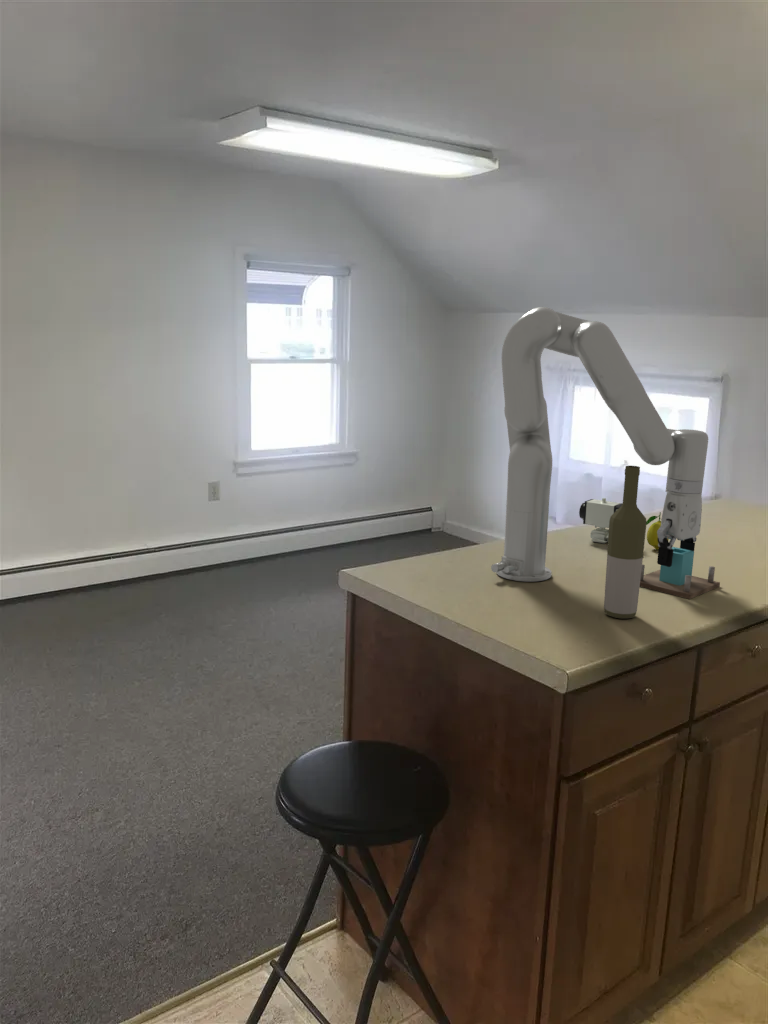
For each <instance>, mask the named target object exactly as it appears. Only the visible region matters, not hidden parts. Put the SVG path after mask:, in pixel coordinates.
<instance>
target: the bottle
mask: <svg viewBox="0 0 768 1024" xmlns="http://www.w3.org/2000/svg"><path fill="white" fill-rule="evenodd" d="M640 468H641V466H637V465H625V469H624V483H623V495H622V496H623V497H622V506H621V507H620V508H619V509H618V510H617V511H616V512H615V513H614V514H612V516H611V517H610V520H609V528H608V530H609V536H608V542H607V554H606V568H605V571H606V572H605V583H604V585H605V586H604V600H603V611H604V613H605V614H606V615H607V616H609V617H612V618H615V619H621V620H623V619H626V620H627V619H631V618H635V617H636V614H637V611H638V606H639V605H638V603H639V594H640V587H641V586H640V578H641V569H642V564H643V560H644V549H645V541H646V534H647V533H646V531H647V525H648V524H647V517H646V516H645V515H644V514H643V512H642V511H641V510H640V509H639V507H638V504H637V502H638V501H637V500H638V490H639V478H640V474H641V469H640ZM646 524H647V525H646Z"/></svg>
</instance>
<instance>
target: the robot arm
mask: <svg viewBox="0 0 768 1024" xmlns="http://www.w3.org/2000/svg"><path fill="white" fill-rule="evenodd" d="M504 338H505V339H504V340H503V344H502V349H501V373H502V387H503V395H504V410H503V411H504V417H505V419H506V426H507V427H506V429H507V435H508V445H509V455H508V462H507V487H506V488H507V489H506V490H507V492H506V504H505V505H506V506H505V507H506V509H505V511H506V512H505V525H504V527H505V528H504V543H503V544H504V546H503V548H504V549H503V556H501V560H500V561H499V562H496V563H493V564H492V565H491V566H490V567H491V568H490V569H491V571H492V572H493V573H496V574H497V575H498V576H499V577H501V578H503V579H507V580H511V581H515V582H528V583H530V582H531V583H532V582H543V581H546V580H548V579H550V578H551V577H552V573H553V571H552V570H551V569H550V568H549V567H547V566H546V560H547V559H546V557H547V542H548V540H547V539H548V528H549V527H548V526H549V515H550V514H549V512H550V493H551V482H552V481H551V480H552V473H553V452H552V446H551V436H550V427H549V426H550V425H549V417H548V405H547V401H546V399H545V396H544V394H545V393H544V388H543V381H542V377H543V376H542V374H543V373H542V363H541V362H542V361H541V358H542V354H543V351H544V349H546V350H550V351H553V352H557V353H560V354H564V355H568V356H571V357H575V358H579V360H580V362H581V363H582V366H583V367H584V369H585V370H586V371H587V373H588V375H589V377H590V379H591V381H592V383H593V384H594V385H595V387H596V389H597V391H598V393H599V395H600V396H601V398H602V400H603V401H604V403H605V404H606V406H607V408H609V409H610V411H611V412H612V413H613V414H614V415H615V417H616V419H617V420H618V421H619V423H620V424H621V426H622V428H623V429H624V431H625V432H626V434H627V436H628V437H629V440H630V441H631V443H632V445H633V450H634V452H635V453H636V454H637V455H638V456H639V458H640V459H641V460H642V461H643V462H644V463H646V464H648V465H651V466H661V465H663V464H666V463H667V462H668V465H667V466H668V467H667V475H666V477H667V478H666V485H665V492H666V494H665V500H664V504H663V507H662V508H663V509H662V513H661V514H662V515H661V519H662V520H661V519H660V521H661V527H660V528H659V529H658V530H657V535H658V547H659V549H658V550H657V551H658V553H657V559H656V563H657V565H659V566H661V565H663V566H667V567H671V566H672V559H673V551H674V549H672V547H674V545H675V543H676V541H677V540H678V541H680V543H679V548H681V549H686V550H690V551H694V552H695V546H696V542H697V540H698V539H697V536H698V535H700V534H701V533H700V532H701V524H702V513H703V512H702V511H703V509H702V507H703V501H702V500H703V496H702V494H703V486H704V480H705V479H704V478H705V469H706V463H707V454H708V447H709V446H708V445H709V435H708V434H707V433H706V432H705V431H702V430H698V429H672V428H667V426H666V425H665V422H664V421H663V419H662V417H661V416H660V414H659V412H658V411H657V409H656V407H655V406H654V404H653V403H652V400H651V398H650V397H649V395H648V394H647V392H646V389H645V387H644V385H643V384H642V382H641V380H640V379H639V376H638V374H637V373H636V371H635V370H634V368H633V367H632V364H631V363H630V361H629V359H628V357H627V356H626V354H625V352H624V351H623V349H622V348H621V346H620V344H619V342H618V341H617V339H616V337H615V335H614V333H613V331H612V330H611V329H610V327H608V326H607V325H606V324H605V323H604V322H601V321H598V320H597V321H596V320H595V321H593V320H588V319H582V318H581V317H580V318H579V317H575V316H572V315H569V314H564V313H562V312H558V311H555V310H553V308H552V309H551V308H550V307H546V306H539V307H534V308H532V309H531V310H530V311H527V312H526V313H525V314H523V315H522V316H520V317H519V319H517V320H516V321H515V322H514V324H513V325H512V326H511V327H510V329H509V330H508V332H507V333H506V336H505V337H504ZM668 539H669V540H668Z"/></svg>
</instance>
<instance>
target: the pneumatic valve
mask: <svg viewBox="0 0 768 1024" xmlns="http://www.w3.org/2000/svg"><path fill="white" fill-rule="evenodd" d="M622 503H623V502H622ZM622 503H621V502H616V501H615V502H614V501H608V500H607V498H606V497H602V499H595V498H591V499H588V500H585V501H584V502H582V503H581V504H580V507H579V512H578V513H579V514H578V516H579V518H580V519H582V521H583V522H582V524H583V525H587V526H594V528H595V529H592V530H591V531H590V535H589V536H590V539H591V542H592V543H598V544H602V545H604V544H606V543H608V536H609V520H610V517H611V516H612V514H614V513H615V512H616V511H617V510H618V509H619V508H620V507H621V506H622Z"/></svg>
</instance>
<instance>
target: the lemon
mask: <svg viewBox="0 0 768 1024" xmlns="http://www.w3.org/2000/svg"><path fill="white" fill-rule="evenodd" d="M661 514H662V513H661V512H659V515H658V516H656V515H652V516H650V517H648V518H647V519H646V521H647V524H646V526H647V525H649V524H650V523H651V522H653V521H654V520H656V519H657V518H658V520H657V521H655V522H653V523H652V524H650V526H649V527H648V530H647V533H646V541H647V543H648V545H650V546H651V547H653V548H654V549H655V550H657V551H659V547H658V535H657V530H658V529H659V528H660V527H661V520H662V517H661V516H662V515H661ZM668 541H670V539H668Z"/></svg>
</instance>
